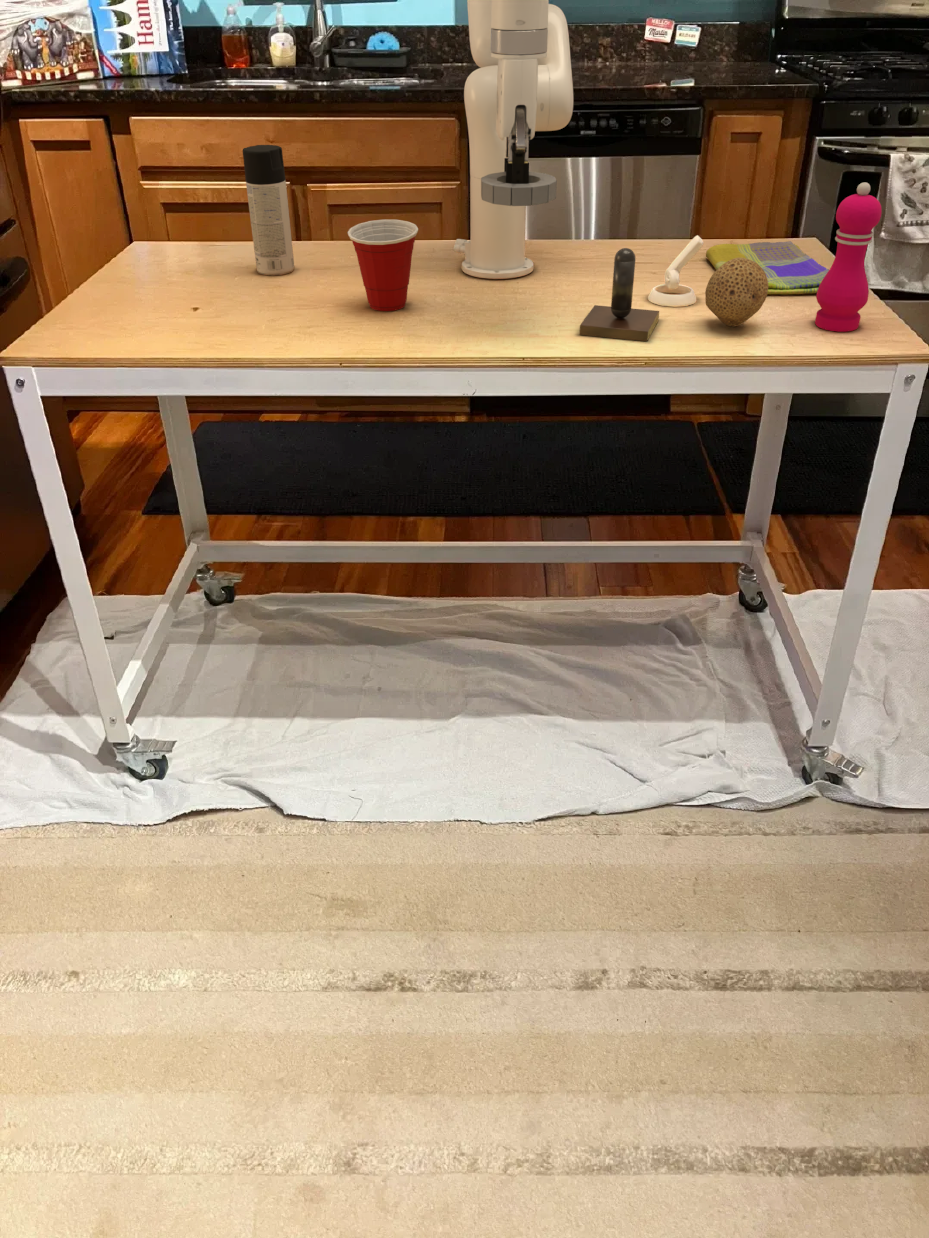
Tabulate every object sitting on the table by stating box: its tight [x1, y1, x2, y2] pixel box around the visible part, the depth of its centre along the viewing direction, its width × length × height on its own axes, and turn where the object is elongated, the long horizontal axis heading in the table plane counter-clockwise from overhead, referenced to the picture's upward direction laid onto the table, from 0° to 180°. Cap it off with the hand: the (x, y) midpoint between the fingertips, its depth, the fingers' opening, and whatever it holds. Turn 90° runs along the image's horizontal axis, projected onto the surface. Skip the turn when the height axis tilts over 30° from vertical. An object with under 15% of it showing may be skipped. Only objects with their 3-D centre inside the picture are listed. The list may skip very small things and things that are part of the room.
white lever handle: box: [647, 234, 704, 308], centre depth 160 cm, size 8×12×7 cm
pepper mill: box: [814, 182, 883, 333], centre depth 146 cm, size 7×7×20 cm
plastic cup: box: [347, 219, 419, 312], centre depth 158 cm, size 11×11×12 cm
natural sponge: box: [704, 258, 768, 328], centre depth 148 cm, size 9×9×10 cm
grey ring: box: [481, 171, 558, 207], centre depth 142 cm, size 10×10×2 cm
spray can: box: [242, 144, 295, 276], centre depth 173 cm, size 7×7×20 cm
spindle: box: [579, 247, 660, 342], centre depth 148 cm, size 10×10×12 cm
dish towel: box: [705, 240, 830, 295], centre depth 173 cm, size 18×24×3 cm
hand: (516, 189), depth 145 cm, fingers closed on grey ring, 2 cm apart
